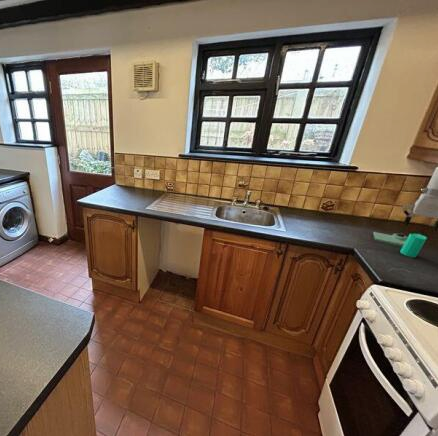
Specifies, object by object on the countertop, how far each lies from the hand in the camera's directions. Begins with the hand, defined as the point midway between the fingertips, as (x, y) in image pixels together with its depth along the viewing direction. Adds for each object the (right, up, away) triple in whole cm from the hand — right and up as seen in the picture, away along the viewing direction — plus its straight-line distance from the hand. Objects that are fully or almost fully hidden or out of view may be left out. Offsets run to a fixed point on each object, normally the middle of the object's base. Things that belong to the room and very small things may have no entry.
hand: (420, 226), depth 118 cm
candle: (0, -14, +6) cm, 15 cm away
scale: (+6, -9, +20) cm, 23 cm away
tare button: (+11, -6, +20) cm, 23 cm away
